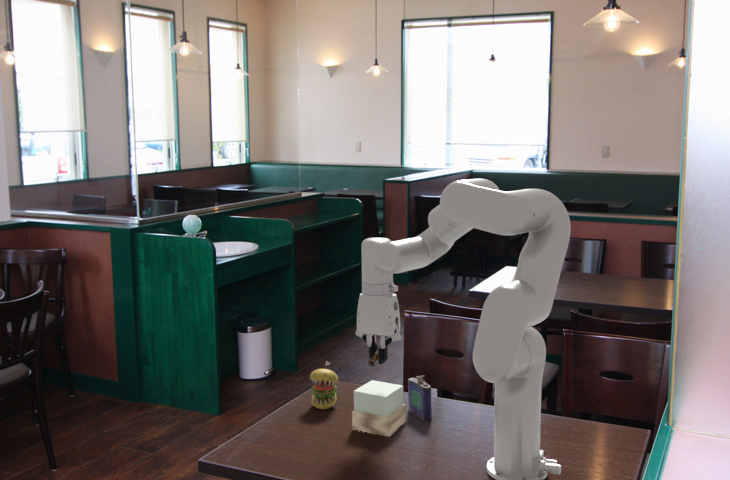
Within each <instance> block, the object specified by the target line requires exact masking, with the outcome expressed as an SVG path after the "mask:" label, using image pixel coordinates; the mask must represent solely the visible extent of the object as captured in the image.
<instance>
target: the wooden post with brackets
mask: <svg viewBox="0 0 730 480" xmlns="http://www.w3.org/2000/svg"><path fill="white" fill-rule="evenodd" d="M379 348H380V346H378V349H379ZM378 349H377V351H376V352H375V355H374V356H373V357H372V359H371V360H370V359H367V360H366V361H367V365H368V367H369V368H370V367H371V368H376V362H377V361H378V360H377V358H378ZM376 360H377V361H376Z"/></svg>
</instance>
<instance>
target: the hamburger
mask: <svg viewBox="0 0 730 480" xmlns="http://www.w3.org/2000/svg"><path fill="white" fill-rule="evenodd" d="M329 365H331V362H329V361H327V360H325V367H324V368H317V369H314V370H313V371H312V372H311V373H310V375H309V380H310V381H312V383H313V385H312V387H311V391H312V392H311V394H312V397H311V404H312V406H313V407H315V408H316V409H318V410H327V409H328V410H329V409H330V408H332V407H333V406H334V405H335V404H336V402H337V400H338V399H337V393H338V392H337V390H336V389H338V387H337V385H336V383H337V384H338V381H339V376H338V374H336V372H335V371H333V370H331V369H328V368H326V367H327V366H329Z"/></svg>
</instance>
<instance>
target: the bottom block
mask: <svg viewBox="0 0 730 480" xmlns="http://www.w3.org/2000/svg"><path fill="white" fill-rule="evenodd" d="M406 405H407V404H406V403H403V405H402V406H401V407H400V408H398V409H397V410H395V411H394V412H393V413H391V414H390V415H388V416H387V417H383V416H379V415H374V414H369V413H364V412H359V411H354V410H353V411H351V425H352V426H351V427H352V429H351V430H352V431H355V430H358V431H357V432H360V431H362V432H361V433H365V432H367V433H366V434H371V433H372V434H371V435H376V434H378V435H377V436H382V435H383V436H384V437H387V436H388V437H389V438H390V437H392V436H393V434H394V433H395V432H396V431H398V430H399V429H400V428H399V427H400V426H401V425H402V426H403V425H404V424H405V423H406V421H407V420H406V419H407V415H406V414H407V413H406V412H407V411H406V410H407V409H406V408H407V407H406ZM402 426H401V427H402ZM398 428H399V429H398ZM397 429H398V430H397ZM383 436H382V437H383ZM388 437H387V438H388Z"/></svg>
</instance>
